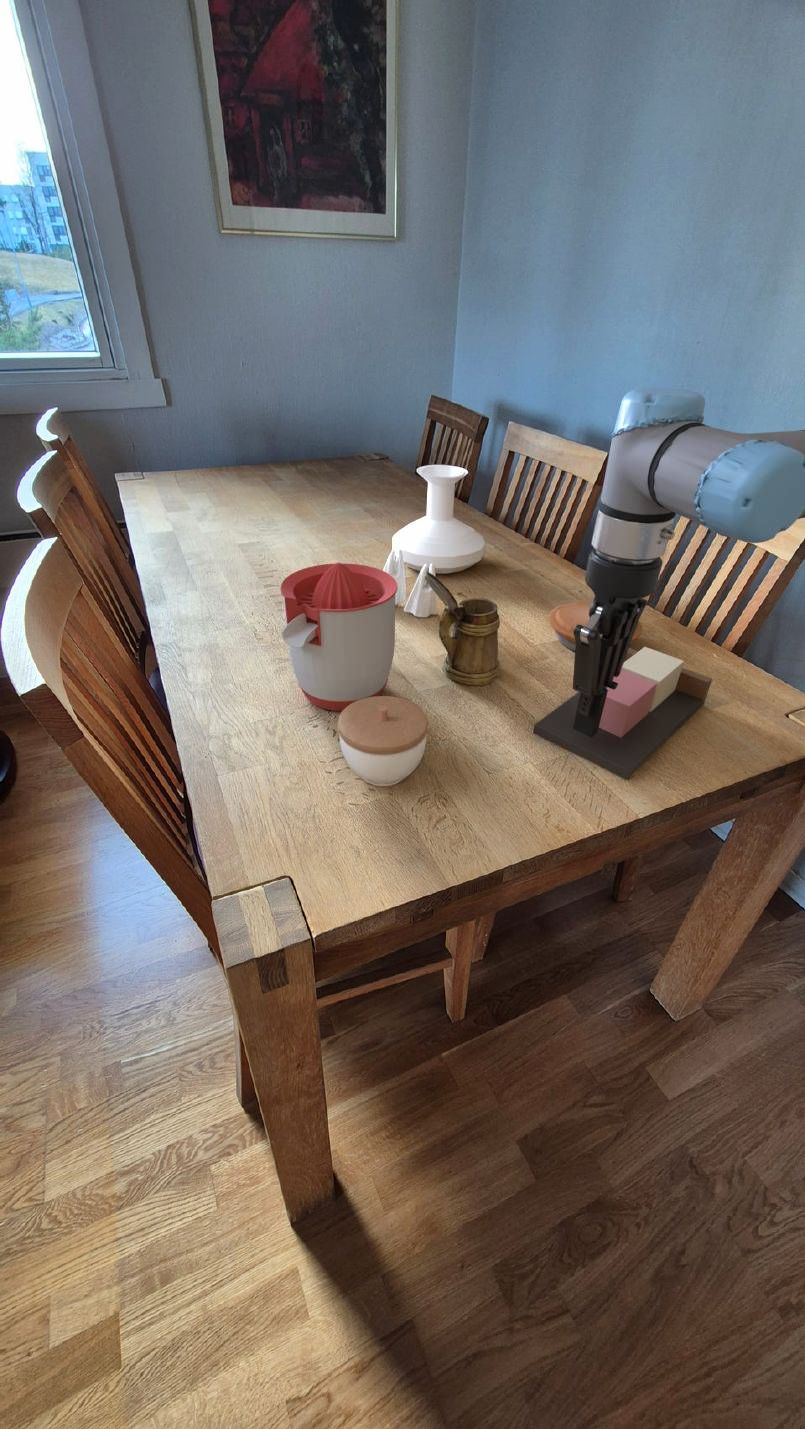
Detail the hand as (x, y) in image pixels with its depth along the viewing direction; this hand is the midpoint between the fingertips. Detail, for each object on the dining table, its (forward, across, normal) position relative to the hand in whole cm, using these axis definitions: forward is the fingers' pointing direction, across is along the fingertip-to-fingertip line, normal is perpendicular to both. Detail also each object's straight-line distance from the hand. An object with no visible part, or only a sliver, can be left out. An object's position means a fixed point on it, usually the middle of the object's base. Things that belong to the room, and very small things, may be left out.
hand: (585, 730), depth 80 cm
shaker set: (+4, +16, +46) cm, 49 cm away
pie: (+4, +29, +15) cm, 33 cm away
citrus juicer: (+4, -12, +33) cm, 35 cm away
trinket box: (+4, -21, +16) cm, 26 cm away
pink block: (+2, +9, 0) cm, 9 cm away
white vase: (+4, +38, +57) cm, 68 cm away
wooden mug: (+4, +4, +24) cm, 25 cm away
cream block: (+2, +18, 0) cm, 18 cm away
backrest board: (+4, +11, 0) cm, 12 cm away
